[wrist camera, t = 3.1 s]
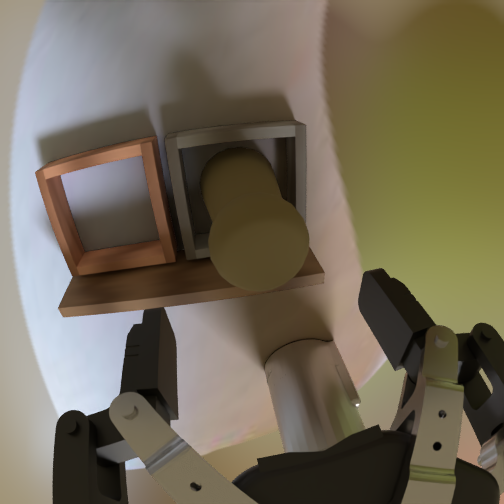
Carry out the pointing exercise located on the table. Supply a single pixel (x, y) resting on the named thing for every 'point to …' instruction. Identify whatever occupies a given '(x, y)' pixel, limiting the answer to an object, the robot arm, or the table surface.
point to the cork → (251, 222)
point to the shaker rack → (162, 228)
